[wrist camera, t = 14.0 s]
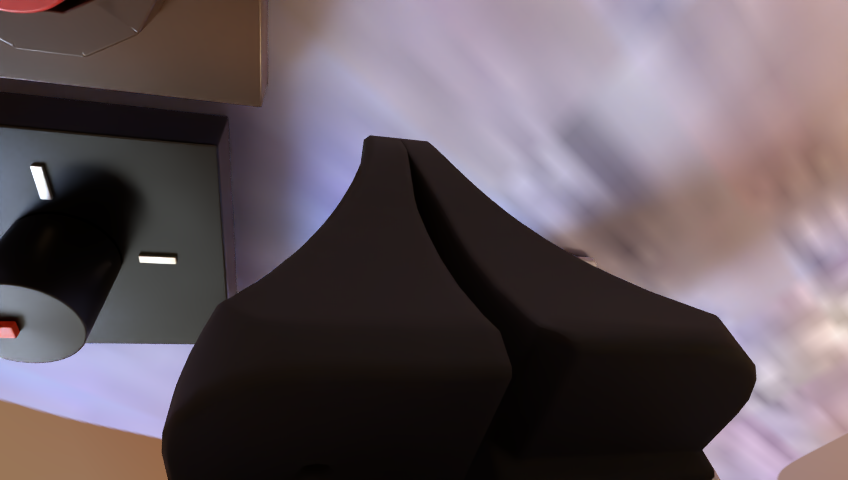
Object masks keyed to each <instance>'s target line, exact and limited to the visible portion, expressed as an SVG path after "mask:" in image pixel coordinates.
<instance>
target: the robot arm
mask: <svg viewBox="0 0 848 480" xmlns="http://www.w3.org/2000/svg"><path fill="white" fill-rule="evenodd" d="M755 382H756V368H755V364H754V363H753V362H752V360H751V359H750V358H749V357H748V355H747V354H746V353H745V351H744V350H743V349H742V347H741V346H740V345H739V344H738V342H737V341H736V340H735V338H734V337H733V336H732V334H731V333H730V332H729V330H728V329H727V328H726V327H725V325H724V324H723V323H722V321H721V320H720V319H719V318H718V317H717V316H716V315H714V314H711V313H708V312H705V311H702V310H700V309H697V308H694V307H691V306H689V305H686V304H683V303H680V302H678V301H675V300H672V299H669V298H667V297H664V296H661V295H658V294H656V293H653V292H650V291H648V290H646V289H643V288H641V287H639V286H636V285H634V284H632V283H630V282H627V281H625V280H623V279H620V278H618V277H616V276H614V275H611V274H609V273H607V272H605V271H603V270H601V269H599V268H597V264H596V262H595V260H594V259H593V258H590V257H576V256H574V255H572V254H571V253H569V252H567V251H565V250H563V249H561V248H560V247H558V246H556V245H555V244H553V243H551V242H550V241H548V240H546V239H545V238H543V237H542V236H540V235H539V234H537V233H536V232H534V231H533V230H531V229H530V228H528V227H527V226H525V225H524V224H522V223H521V222H519V221H518V220H517V219H515V218H514V217H512V216H511V215H510V214H508V213H507V212H506V211H505V210H503V209H502V208H501V207H500V206H499V205H497V204H496V203H495V202H494V201H492V200H491V199H490V198H489V197H487V196H486V195H485V194H484V193H483V192H482V191H481V190H479V189H478V188H477V187H476V186H475V185H474V184H473V183H472V182H471V181H469V180H468V179H467V178H466V177H465V176H464V175H463V174H462V173H461V172H460V171H459V170H458V169H457V168H456V167H455V166H454V165H453V164H452V163H450V162H449V161H448V160H447V159H446V158H445V157H444V156H443V155H442V154H441V153H440V152H439V151H438V150H437V149H436V148H435V147H434V146H432V145H431V144H430V143H429V142H427V141H418V140H408V139H399V138H390V137H380V136H371V135H370V136H369V137H367V138H366V139H364V142H363V150H362V158H361V164H360V166H359V169H358V171H357V173H356V175H355V178H354V180H353V182H352V183H351V185H350V187H349V188H348V190H347V192H346V193H345V195H344V197H343V198H342V200H341V202H340V203H339V205H338V206H337V207H336V209H335V210H334V211H333V213H332V214H331V215H330V217H329V218H328V219H327V220H326V221H325V223H324V224H323V225H322V226H321V227H320V228H319V229H318V231H317V232H316V233H315V234H314V235H313V236H312V237H311V238H310V239H309V240H308V241H307V242H306V243H305V244H304V245H303V246H302V247H301V248H300V249H299V250H297V251H296V252H295V253H294V254H293V255H291V256H290V257H289V258H288V259H286V260H285V261H284V262H283V263H281V264H280V265H279V266H278V267H276V268H275V269H274V270H273V271H271V272H270V273H269V274H267V275H266V276H265V277H263V278H262V279H260V280H259V281H257V282H255V283H254V284H252V285H250V286H249V287H247V288H245V289H244V290H242V291H240V292H239V293H237V294H235V295H234V296H232V297H230V298H228V299H226V300H224V301H223V302H221V303H220V304H218V305H217V307H216V308H215V310H214V312H213V313H212V315H211V317H210V318H209V320H208V322H207V323H206V325H205V327H204V328H203V330H202V332H201V333H200V335H199V337H198V339H197V341H196V343H195V345H194V347H193V348H192V350H191V352H190V354H189V357H188V359H187V361H186V363H185V366H184V368H183V370H182V372H181V375H180V377H179V380H178V382H177V384H176V387H175V390H174V394H173V397H172V401H171V404H170V408H169V411H168V415H167V418H166V422H165V426H164V429H163V433H162V456H163V460H164V464H165V469H166V473H167V477H168V480H720V479H719V477H718V475H717V473H716V472H715V470H714V468H713V467H712V465H711V463H710V462H709V460H708V459H707V457H706V455H705V454H704V452H703V449H704V448H705V447H706V446H707V445H708V443H709V442H710V441H711V440H712V439H713V438H714V437H715V436H716V435H717V434H718V433H719V432H720V431H721V430H722V429H723V428H724V427H725V426H726V425H727V424H728V423H729V422H730V421H731V420H732V419H733V418H734V417H735V416H736V415H737V414H738V413H739V411H740V410H741V409H742V408H743V406H744V405H745V404H746V402H747V401H748V400H749V398H750V395H751V393H752V390H753V388H754V385H755Z"/></svg>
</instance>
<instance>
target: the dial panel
mask: <svg viewBox="0 0 848 480" xmlns="http://www.w3.org/2000/svg"><path fill="white" fill-rule="evenodd" d="M39 214H55V215H63V216H68V217H71V218H75V219H78V220H81V221H83V222H85V223H88V224H90V225H92V226H93V227H95V228H97V229H98V230H100V231H101V232H102V233H104V234H105V235H106V236H107V237H108V238H109V239H110V240H111V241H112V242H113V244H114V245H115V246H116V248H117V250H118V252H119V255H120V259H121V268H120V272H119V274H118V276H117V278H116V280H115V282H114V284H113V286H112V288H111V290H110V292H109V295H108V297H107V299H106V301H105V303H104V305H103V307H102V309H101V311H100V313H99V315H98V317H97V320H96V322H95V324H94V326H93V328H92V330H91V332H90V334H89V336H88V338H87V340H86V342H85V343H134V344H195V343H196V341H197V339H198V337H199V335H200V333H201V332H202V330H203V328H204V327H205V325H206V323H207V322H208V320H209V318H210V317H211V315H212V313H213V312H214V310H215V308H216V307H217V305H218V304H220V303H221V302H223V301H224V300H226V299H228V298H230V297H232V296H234V295H235V294H237V283H236V262H235V242H234V222H233V201H232V181H231V161H230V140H229V120H228V117H227V116H219V115H209V114H200V113H191V112H182V111H172V110H163V109H154V108H145V107H135V106H126V105H117V104H107V103H98V102H89V101H80V100H70V99H61V98H52V97H43V96H33V95H24V94H15V93H6V92H0V239H1V237H2V236H3V235H4V234H5V232H6V231H7V230H8V229H9V228H10V227H11V226H12V225H13V224H14V223H15V222H17V221H18V220H21V219H23V218H25V217H29V216H33V215H39Z"/></svg>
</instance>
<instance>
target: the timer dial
mask: <svg viewBox="0 0 848 480" xmlns="http://www.w3.org/2000/svg"><path fill="white" fill-rule="evenodd" d="M120 268H121V259H120V255H119V252H118V250H117V248H116V246H115V245H114V244H113V242H112V241H111V240H110V239H109V238H108V237H107V236H106V235H105V234H104V233H102V232H101V231H100V230H98V229H97V228H95V227H93V226H92V225H90V224H88V223H85V222H83V221H81V220H78V219H75V218H71V217H68V216H63V215H55V214H39V215H33V216H29V217H25V218H23V219H21V220H18V221H17V222H15V223H14V224H13V225H12V226H11V227H10V228H9V229H8V230H7V231H6V232H5V234H4V235H3V236H2V237H1V239H0V358H3V359H7V360H12V361H18V362H26V363H46V362H53V361H58V360H62V359H65V358H67V357H70V356H72V355H73V354H75V353H76V352H78V351H79V350H80V349H81V348H82V347H83V346H84V344H85V342H86V340H87V338H88V336H89V334H90V332H91V330H92V328H93V326H94V324H95V322H96V320H97V317H98V315H99V313H100V311H101V309H102V307H103V305H104V303H105V301H106V299H107V297H108V295H109V292H110V290H111V288H112V286H113V284H114V282H115V280H116V278H117V276H118V274H119V272H120Z"/></svg>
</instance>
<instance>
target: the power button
mask: <svg viewBox="0 0 848 480" xmlns="http://www.w3.org/2000/svg"><path fill="white" fill-rule="evenodd" d="M63 1H65V0H0V10H1V11H6V12H11V13H36V12H42V11H45V10H48V9H51V8H53V7H55V6H56V5H58V4H60V3H61V2H63Z"/></svg>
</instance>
